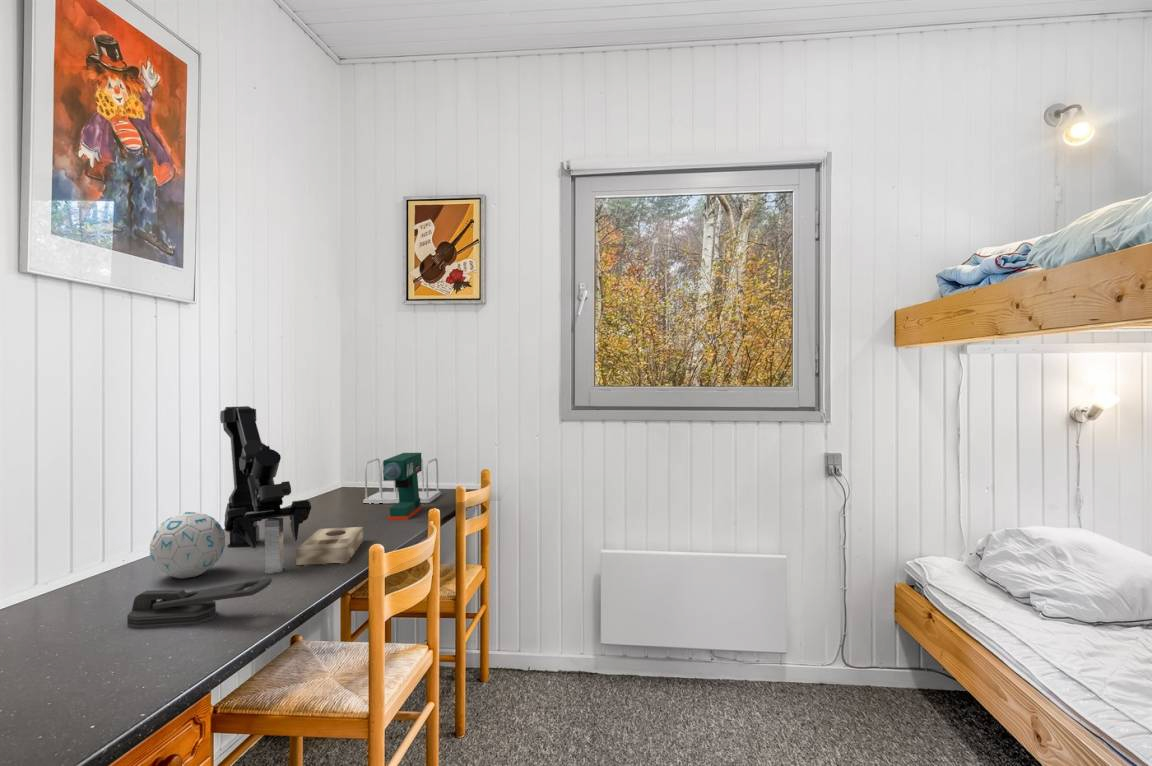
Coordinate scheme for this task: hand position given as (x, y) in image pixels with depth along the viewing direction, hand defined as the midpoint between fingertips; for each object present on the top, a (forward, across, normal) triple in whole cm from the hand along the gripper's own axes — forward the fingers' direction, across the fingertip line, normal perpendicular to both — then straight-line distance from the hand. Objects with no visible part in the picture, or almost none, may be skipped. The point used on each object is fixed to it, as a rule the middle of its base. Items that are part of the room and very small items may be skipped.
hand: (275, 543), depth 148 cm
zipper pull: (+20, -19, -10) cm, 29 cm away
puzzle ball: (-3, -16, +13) cm, 21 cm away
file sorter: (-42, +62, +52) cm, 91 cm away
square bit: (+4, 0, +6) cm, 7 cm away
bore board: (-1, +16, +11) cm, 19 cm away
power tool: (-21, +47, +30) cm, 60 cm away
